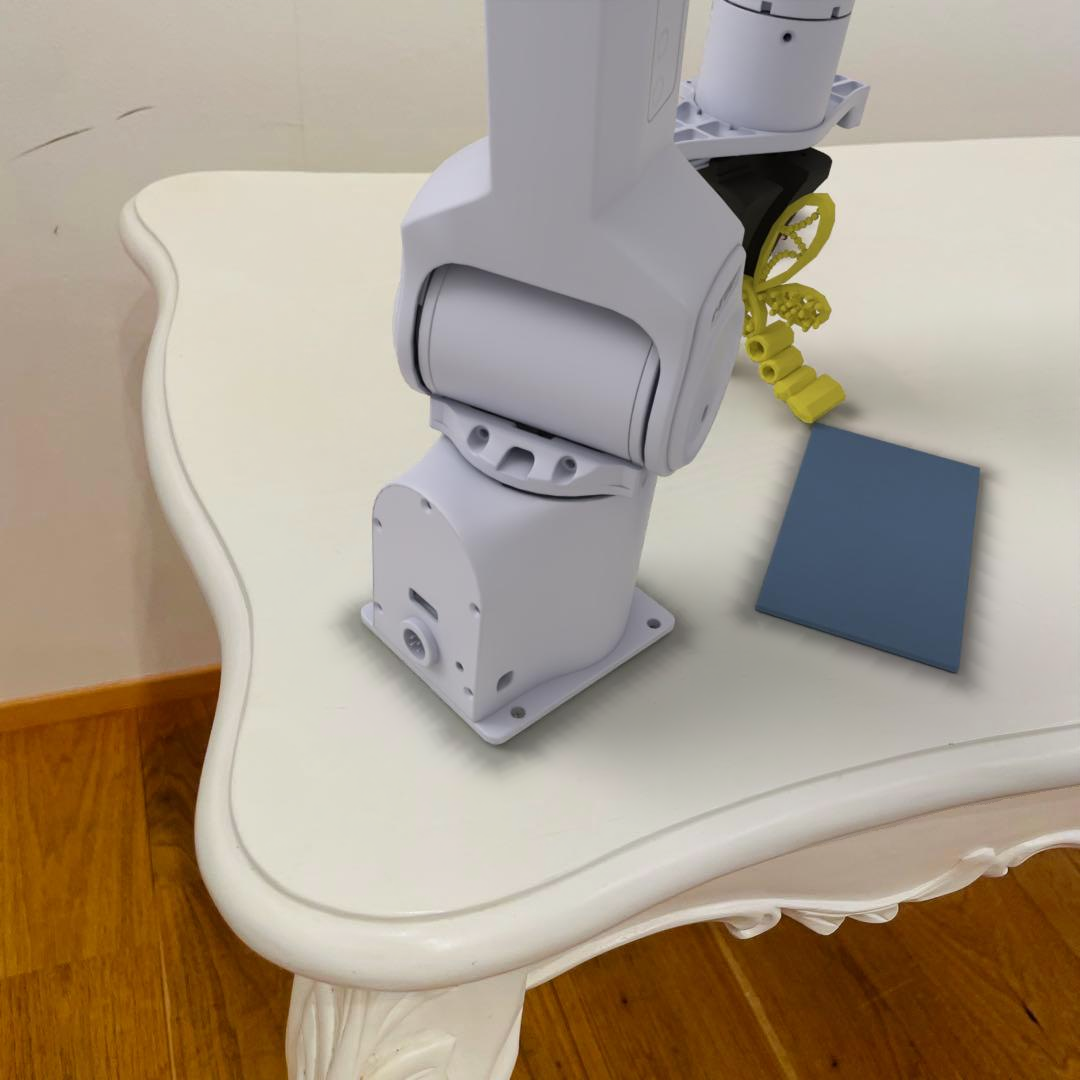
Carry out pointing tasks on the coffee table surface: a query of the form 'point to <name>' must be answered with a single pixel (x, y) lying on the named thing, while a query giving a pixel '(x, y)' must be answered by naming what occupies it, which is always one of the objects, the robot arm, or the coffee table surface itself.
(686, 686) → the coffee table surface
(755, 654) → the coffee table surface
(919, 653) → the blue rectangular board
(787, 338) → the decorative insect
